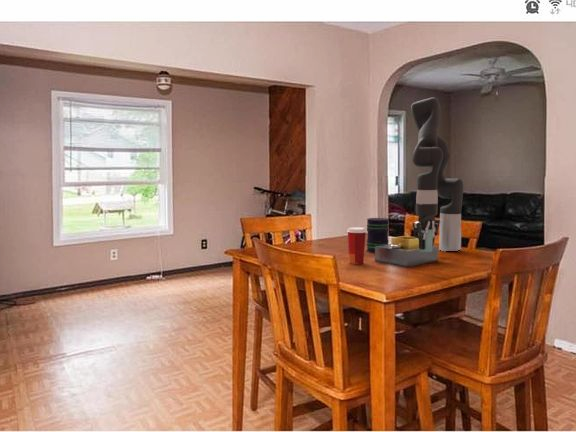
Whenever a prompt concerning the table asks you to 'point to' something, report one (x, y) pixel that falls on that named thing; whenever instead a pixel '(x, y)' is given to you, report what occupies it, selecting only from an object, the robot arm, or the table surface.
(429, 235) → the spout can
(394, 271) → the table surface
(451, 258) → the table surface
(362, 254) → the paper cup
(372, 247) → the storage jar
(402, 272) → the table surface
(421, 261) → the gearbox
